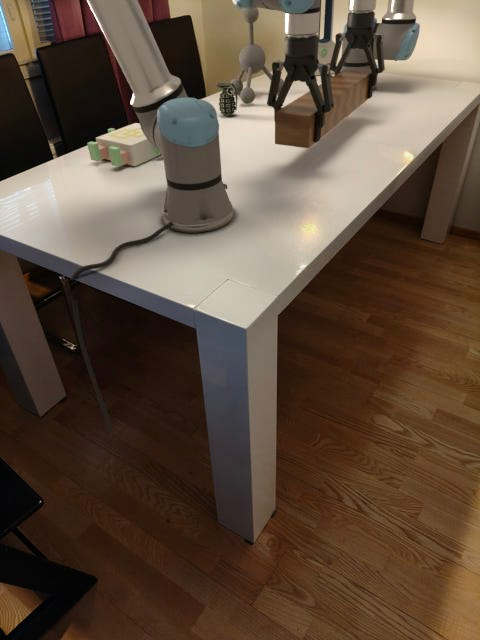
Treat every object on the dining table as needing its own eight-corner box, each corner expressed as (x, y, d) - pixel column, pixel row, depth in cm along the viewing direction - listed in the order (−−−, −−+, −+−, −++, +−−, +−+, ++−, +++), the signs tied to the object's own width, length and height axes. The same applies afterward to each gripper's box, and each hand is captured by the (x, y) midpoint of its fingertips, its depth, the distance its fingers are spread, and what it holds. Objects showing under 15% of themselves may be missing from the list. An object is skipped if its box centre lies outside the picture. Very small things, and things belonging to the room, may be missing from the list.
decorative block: (141, 114, 152) (190, 122, 142) (145, 135, 156) (192, 145, 146) (76, 138, 136) (126, 149, 126) (82, 160, 140) (130, 173, 130)
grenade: (217, 117, 168) (214, 86, 162) (221, 112, 172) (219, 82, 166) (235, 117, 166) (233, 86, 160) (239, 113, 171) (238, 82, 165)
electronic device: (309, 76, 211) (312, -7, 192) (303, 73, 216) (305, -8, 198) (336, 73, 213) (341, -10, 194) (329, 70, 219) (333, -11, 200)
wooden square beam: (308, 148, 117) (310, 115, 112) (274, 144, 120) (274, 112, 116) (372, 95, 153) (375, 69, 148) (344, 93, 157) (346, 68, 152)
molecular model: (298, 98, 182) (300, 3, 164) (243, 107, 176) (239, 9, 158) (272, 86, 199) (271, -1, 181) (221, 93, 194) (215, 4, 175)
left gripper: (355, 33, 105) (345, 138, 119) (265, 30, 114) (266, 129, 128) (342, 39, 100) (334, 148, 114) (250, 36, 109) (253, 137, 123)
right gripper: (403, 9, 136) (392, 95, 150) (329, 9, 144) (324, 91, 158) (397, 13, 131) (386, 102, 145) (320, 12, 139) (316, 96, 153)
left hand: (298, 138), depth 121 cm, fingers closed on wooden square beam, 9 cm apart
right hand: (354, 96), depth 151 cm, fingers closed on wooden square beam, 9 cm apart
